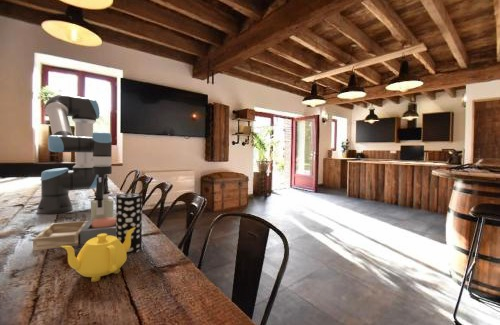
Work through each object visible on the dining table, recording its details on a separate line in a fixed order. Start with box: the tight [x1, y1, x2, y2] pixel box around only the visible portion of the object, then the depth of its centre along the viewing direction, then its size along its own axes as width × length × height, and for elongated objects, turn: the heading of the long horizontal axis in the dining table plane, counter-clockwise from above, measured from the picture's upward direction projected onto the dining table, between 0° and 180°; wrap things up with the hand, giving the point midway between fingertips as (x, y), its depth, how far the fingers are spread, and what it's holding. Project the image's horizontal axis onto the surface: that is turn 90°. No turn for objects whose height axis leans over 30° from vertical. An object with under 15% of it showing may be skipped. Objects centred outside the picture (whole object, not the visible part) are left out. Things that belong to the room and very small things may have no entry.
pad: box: [92, 216, 116, 229], centre depth 98 cm, size 9×9×2 cm
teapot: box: [60, 227, 136, 283], centre depth 70 cm, size 20×15×12 cm
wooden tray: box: [32, 220, 88, 251], centre depth 93 cm, size 18×13×4 cm
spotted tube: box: [115, 192, 143, 255], centre depth 85 cm, size 8×8×20 cm
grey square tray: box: [79, 219, 116, 245], centre depth 98 cm, size 14×14×5 cm
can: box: [90, 198, 114, 220], centre depth 111 cm, size 9×9×12 cm
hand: (102, 210), depth 111 cm, fingers open, 13 cm apart
